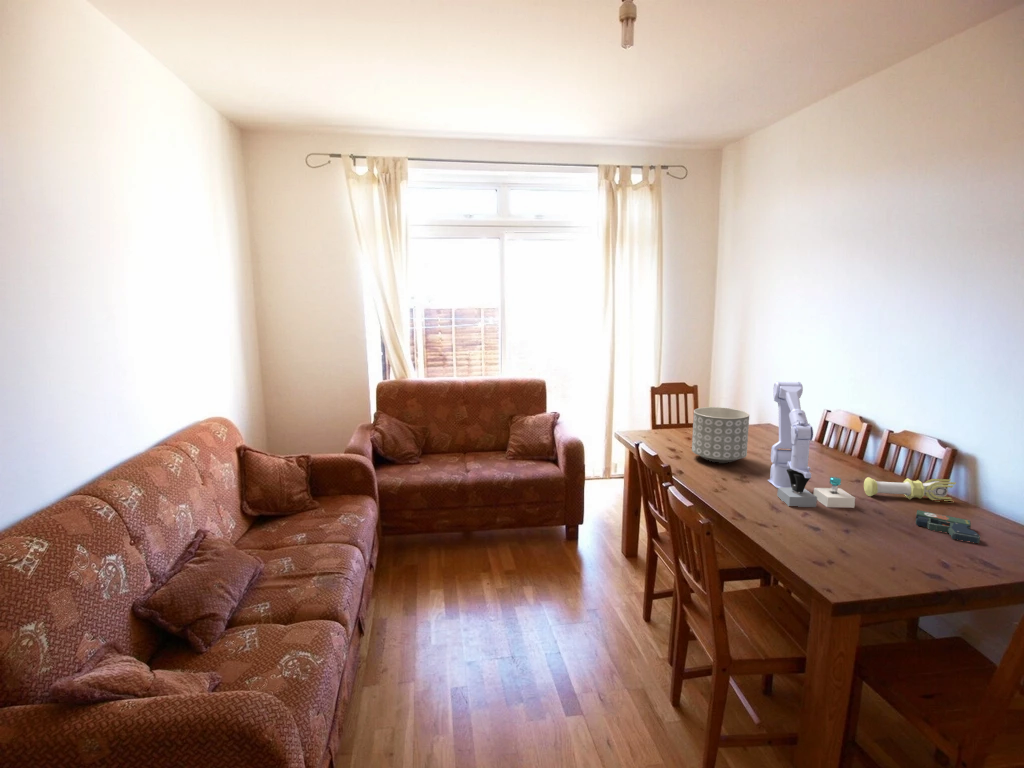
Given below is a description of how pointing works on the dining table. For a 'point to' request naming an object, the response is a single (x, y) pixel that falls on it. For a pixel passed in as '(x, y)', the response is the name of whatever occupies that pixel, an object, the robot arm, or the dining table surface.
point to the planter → (720, 434)
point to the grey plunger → (795, 488)
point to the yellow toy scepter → (910, 488)
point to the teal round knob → (835, 484)
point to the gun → (947, 525)
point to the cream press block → (834, 498)
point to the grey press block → (797, 497)
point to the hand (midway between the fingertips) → (797, 489)
